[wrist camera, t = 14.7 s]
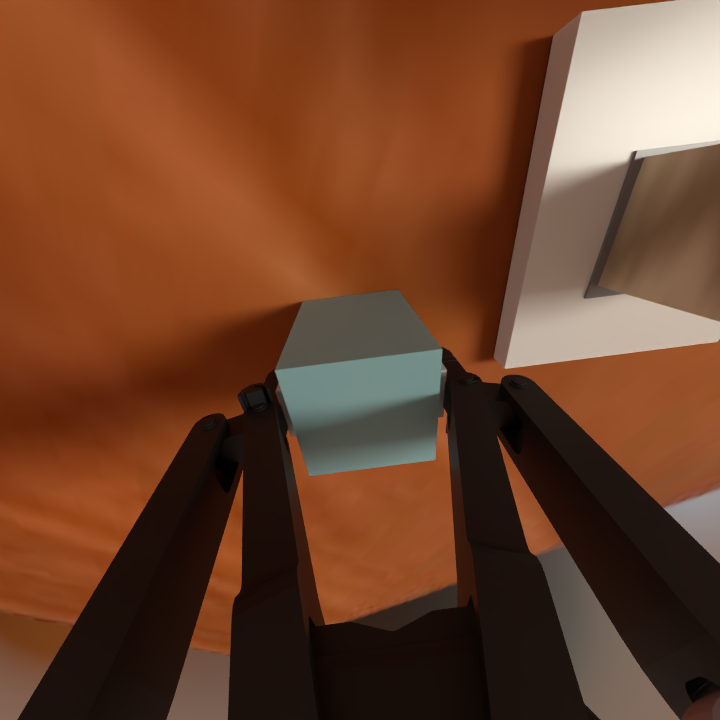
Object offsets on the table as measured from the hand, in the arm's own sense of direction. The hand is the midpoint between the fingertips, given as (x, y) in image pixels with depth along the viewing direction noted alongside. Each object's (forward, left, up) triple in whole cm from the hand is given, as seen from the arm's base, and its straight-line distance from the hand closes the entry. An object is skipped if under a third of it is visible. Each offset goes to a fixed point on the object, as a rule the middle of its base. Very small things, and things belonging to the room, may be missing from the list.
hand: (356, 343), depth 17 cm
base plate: (-5, +18, 0) cm, 18 cm away
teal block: (0, 0, 0) cm, 0 cm away
